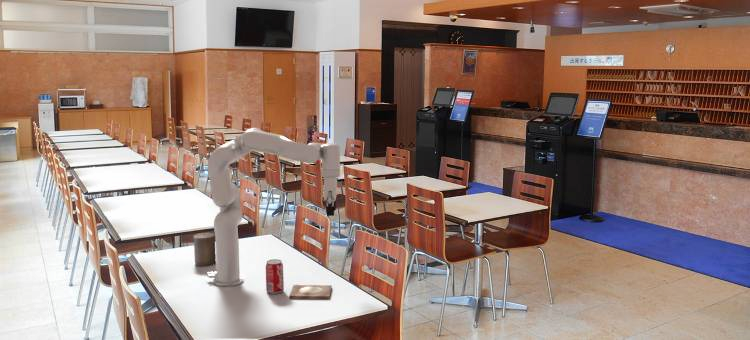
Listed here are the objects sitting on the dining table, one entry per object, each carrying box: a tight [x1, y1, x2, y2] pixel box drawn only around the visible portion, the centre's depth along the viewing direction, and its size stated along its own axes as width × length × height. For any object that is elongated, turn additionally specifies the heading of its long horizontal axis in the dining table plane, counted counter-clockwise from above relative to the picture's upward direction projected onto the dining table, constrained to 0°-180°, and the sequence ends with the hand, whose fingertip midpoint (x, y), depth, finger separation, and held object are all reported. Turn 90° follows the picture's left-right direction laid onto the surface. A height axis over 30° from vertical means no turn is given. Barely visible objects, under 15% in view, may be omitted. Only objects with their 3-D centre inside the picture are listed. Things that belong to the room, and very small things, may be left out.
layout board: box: [288, 284, 333, 300], centre depth 264 cm, size 16×13×1 cm
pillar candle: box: [193, 232, 217, 267], centre depth 302 cm, size 10×10×15 cm
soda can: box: [265, 258, 285, 295], centre depth 264 cm, size 7×7×13 cm
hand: (331, 213), depth 272 cm, fingers open, 9 cm apart
